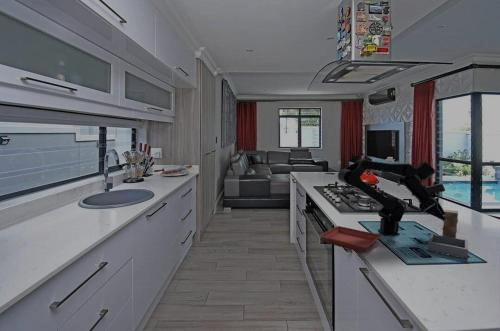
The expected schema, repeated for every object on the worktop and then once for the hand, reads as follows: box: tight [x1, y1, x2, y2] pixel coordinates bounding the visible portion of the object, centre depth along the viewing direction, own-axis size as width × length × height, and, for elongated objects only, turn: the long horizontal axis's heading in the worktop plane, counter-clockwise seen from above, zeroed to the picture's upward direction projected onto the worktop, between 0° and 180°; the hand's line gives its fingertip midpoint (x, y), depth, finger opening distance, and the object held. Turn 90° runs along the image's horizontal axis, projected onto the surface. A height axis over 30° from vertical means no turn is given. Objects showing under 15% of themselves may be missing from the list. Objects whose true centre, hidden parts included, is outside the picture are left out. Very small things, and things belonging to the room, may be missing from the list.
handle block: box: [442, 209, 459, 238], centre depth 118 cm, size 4×4×12 cm
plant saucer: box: [319, 225, 382, 253], centre depth 114 cm, size 18×18×3 cm
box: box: [427, 233, 469, 260], centre depth 108 cm, size 12×12×4 cm
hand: (444, 217), depth 119 cm, fingers open, 9 cm apart
